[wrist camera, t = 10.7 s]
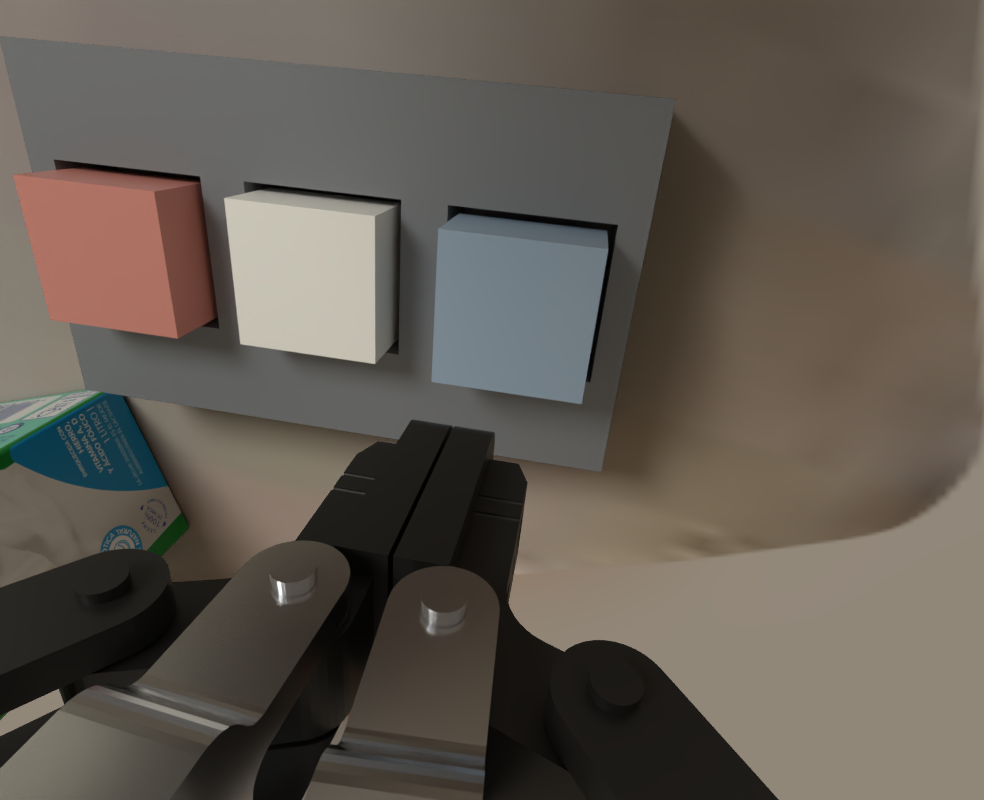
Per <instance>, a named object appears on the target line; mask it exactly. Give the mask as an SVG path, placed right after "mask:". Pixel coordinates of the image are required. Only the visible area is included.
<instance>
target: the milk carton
mask: <svg viewBox="0 0 984 800" xmlns="http://www.w3.org/2000/svg"><path fill="white" fill-rule="evenodd" d="M188 529H189V526H188V524H187V522H186V520H185V519H184V517H183V515H182V513H181V511H180V509H179V507H178V505H177V503H176V501H175V499H174V497H173V495H172V493H171V491H170V489H169V487H168V485H167V483H166V481H165V479H164V477H163V475H162V473H161V471H160V469H159V467H158V465H157V463H156V461H155V459H154V457H153V455H152V453H151V451H150V449H149V447H148V445H147V443H146V441H145V439H144V437H143V435H142V433H141V431H140V429H139V427H138V425H137V423H136V421H135V419H134V417H133V415H132V414H131V412H130V410H129V408H128V406H127V404H126V402H125V400H124V398H123V396H122V395H117V394H110V393H104V392H98V391H92V390H82V391H76V392H69V393H62V394H56V395H49V396H43V397H36V398H29V399H23V400H16V401H9V402H3V403H0V587H3V586H6V585H9V584H12V583H15V582H17V581H20V580H23V579H26V578H29V577H31V576H34V575H37V574H40V573H43V572H46V571H48V570H51V569H54V568H57V567H60V566H63V565H65V564H68V563H71V562H74V561H77V560H79V559H82V558H85V557H88V556H91V555H94V554H97V553H101V552H105V551H110V550H117V549H142V550H146V551H150V552H153V553H155V554H157V555H159V556H160V557H161V556H162V555H163V554H164V553H165V552H166V551H167V550H168V549H169V548H170V547H171V546H172V545H173V544H174V543H175V542H176V541H177V540H178V539H179V538H180V537H181V536H182V535H183V534H184V533H185V532H186V531H187V530H188ZM7 713H8V712H7ZM7 713H5V714H3V715H0V720H1V719H2V718H3V717H4V716H5V715H6V714H7Z"/></svg>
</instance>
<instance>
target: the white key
mask: <svg viewBox="0 0 984 800" xmlns="http://www.w3.org/2000/svg"><path fill="white" fill-rule="evenodd" d="M224 202H225V211H226V220H227V229H228V238H229V247H230V256H231V265H232V274H233V283H234V292H235V301H236V309H237V318H238V327H239V336H240V344H242V345H249V346H256V347H263V348H270V349H276V350H283V351H290V352H297V353H304V354H310V355H317V356H324V357H331V358H338V359H345V360H351V361H358V362H365V363H372V364H376V363H377V362H378V360H379V359H380V358H381V357H382V356H383V355H384V354H385V353H386V351H387V350H388V349H389V348H390V347H391V346H392V345H393V343H394V342H395V341H396V340H397V339H398V338H399V302H400V241H401V203H400V202H391V201H383V200H374V199H366V198H357V197H349V196H340V195H331V194H323V193H314V192H306V191H297V190H289V189H280V188H271V187H270V188H265V189H261V190H257V191H252V192H248V193H244V194H240V195H235V196H231V197H227V198H224Z"/></svg>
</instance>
